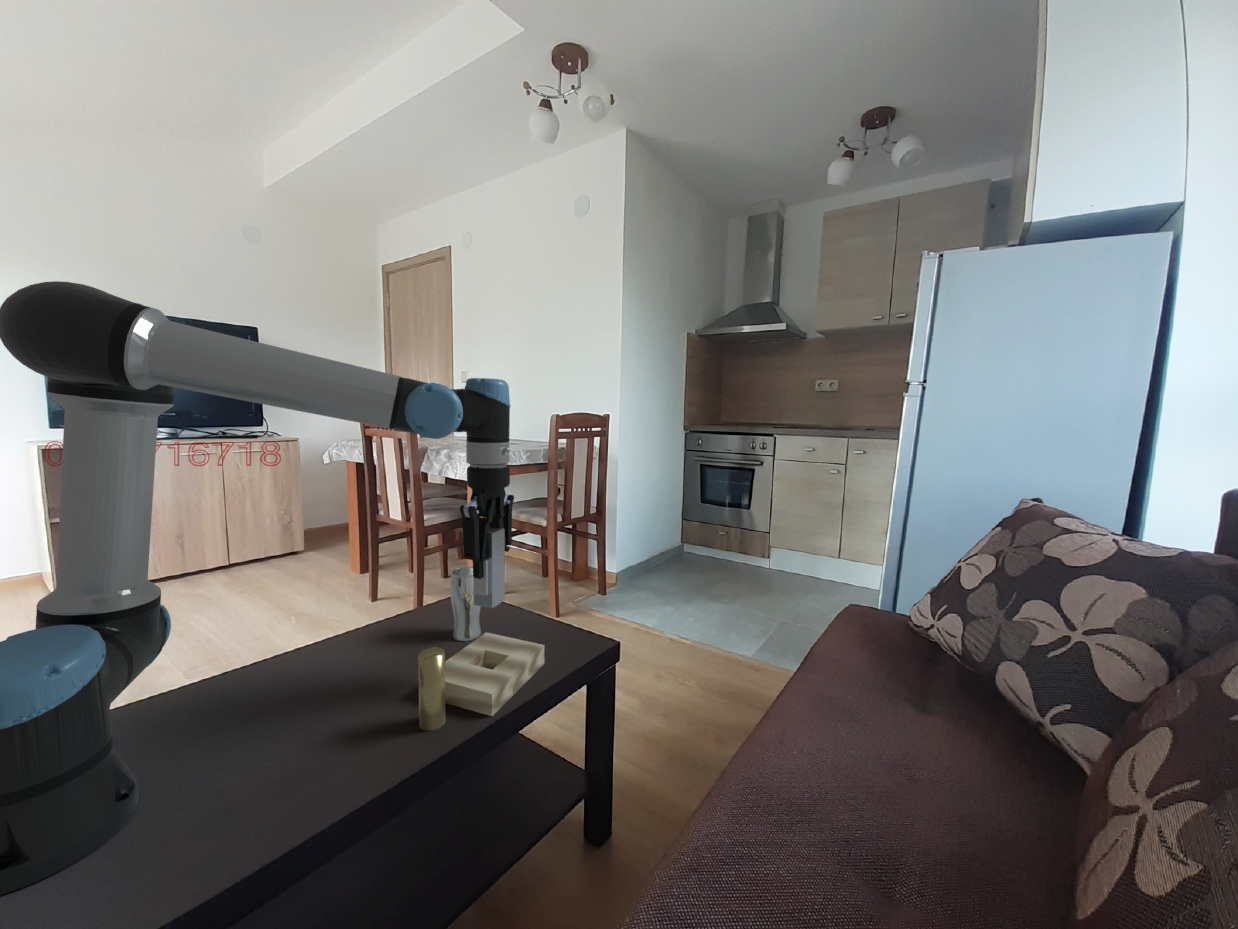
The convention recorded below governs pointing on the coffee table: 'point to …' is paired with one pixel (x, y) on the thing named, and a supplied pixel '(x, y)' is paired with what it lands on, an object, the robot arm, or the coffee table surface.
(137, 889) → the coffee table surface
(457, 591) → the beer glass
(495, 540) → the square bit
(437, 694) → the round bit
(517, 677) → the socket block
